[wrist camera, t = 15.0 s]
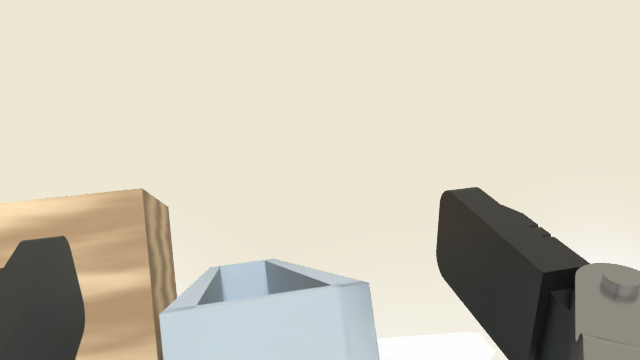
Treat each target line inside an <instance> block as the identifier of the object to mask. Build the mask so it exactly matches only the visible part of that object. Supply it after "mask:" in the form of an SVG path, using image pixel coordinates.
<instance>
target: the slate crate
mask: <svg viewBox="0 0 640 360" xmlns="http://www.w3.org/2000/svg"><path fill="white" fill-rule="evenodd" d="M159 318H160V329H161V339H162V350H163V360H380V359H379V352H378V345H377V338H376V331H375V324H374V316H373V309H372V302H371V295H370V287H369V283H367V282H363V281H359V280H355V279H351V278H347V277H344V276H339V275H335V274H332V273H328V272H324V271H320V270H315V269H312V268H308V267H304V266H300V265H296V264H292V263H288V262H284V261H280V260H276V259H269V260H262V261H254V262H248V263H240V264H232V265H225V266H218V267H210V268H209V269H208V270H207V271H206V272H205V273H204V274H203V275H202V276H200V277H199V279H197V280H196V281H195V282H194V283H193V284H192V285H191V286H190V287H189V288H187V289H186V290H185V291H184V292H183V293H182V294H181V295H180V296H179V297H178V298H177V299H176V300H174V301H173V302H172V303H171V304H170V305H169V306H168V307H167V308H166V309H165V310H164V311H163V312H161V313H160V314H159Z"/></svg>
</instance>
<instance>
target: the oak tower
mask: <svg viewBox="0 0 640 360" xmlns="http://www.w3.org/2000/svg"><path fill="white" fill-rule="evenodd" d="M56 236H65V237H66V239H67V240H68V242H69V245H70V249H71V253H72V257H73V261H74V265H75V269H76V273H77V277H78V281H79V285H80V289H81V293H82V297H83V302H84V308H85V328H84V333H83V336H82V340H81V343H80V346H79V349H78V352H77V356H76V359H75V360H163V350H162V339H161V329H160V318H159V314H160V313H161V312H163V311H164V310H165V309H166V308H167V307H168V306H169V305H170V304H171V303H172V302H173V301H174V300H176V299H177V293H176V283H175V273H174V262H173V252H172V242H171V232H170V222H169V212H168V207H167V206H166V205H165V204H163V203H162V202H160V201H159V200H158V199H156V198H154V197H153V196H152V195H150V194H149V193H148V192H146V191H145V190H143V189H132V190H123V191H113V192H104V193H94V194H85V195H75V196H66V197H56V198H46V199H37V200H28V201H18V202H10V203H0V268H4V266H5V264H6V263H7V261H8V260H9V258H10V257H11V255H12V254H13V252H14V251H15V249H16V247H17V246H18V244H19V243H20V242H21V241H23V240H31V239H40V238H48V237H56Z"/></svg>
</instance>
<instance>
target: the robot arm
mask: <svg viewBox="0 0 640 360" xmlns="http://www.w3.org/2000/svg"><path fill="white" fill-rule="evenodd" d="M436 256H437V262H438V267H439V270H440V273H441V275H442V277H443V278H444V280H445V281H446V282H447V283H448V285H449V286H450V287H451V288H452V290H453V291H454V292H455V293H456V295H457V296H458V297H459V298H460V300H461V301H462V302H463V303H464V305H465V306H466V307H467V308H468V310H469V311H470V312H471V313H472V315H473V316H474V317H475V318H476V320H477V321H478V322H479V323H480V325H481V326H482V327H483V328H484V330H485V331H486V332H487V333H488V334H489V336H490V337H491V338H492V340H493V341H494V342H495V343H496V344H497V346H498V347H499V348H500V350H501V351H502V352H503V353H504V354H505V356H506V357H507V358H508V359H509V360H640V271H638V270H635V269H633V268H629V267H626V266H621V265H617V264H609V263H594V264H590V263H588V262H587V261H586V260H584V259H583V258H582V257H580V256H579V255H578V254H576V253H575V252H574V251H572V250H571V249H569V248H568V247H567V246H565V245H564V244H563V243H562V242H560V241H559V240H558V239H556V238H555V237H551V234H550V233H548V232H547V231H546V230H544V229H543V228H541V227H538V224H536V223H535V222H533V221H532V220H531V219H529V218H528V217H527V216H525V215H524V214H523V213H520V212H518V211H515V210H513V209H510V208H508V207H506V206H503V205H500V204H499V203H498V202H497V201H495V200H494V199H493V198H491V197H490V196H489V195H487V194H486V193H485V192H484V191H482V190H481V189H479V188H477V187H474V188H465V189H457V190H448V191H445V192H444V193H443V194H442V196H441V199H440V209H439V223H438V236H437V250H436ZM84 328H85V308H84V302H83V297H82V293H81V289H80V285H79V281H78V277H77V273H76V269H75V265H74V261H73V257H72V253H71V249H70V245H69V242H68V240H67V239H66V237H65V236H56V237H48V238H40V239H31V240H23V241H21V242H20V243H19V244H18V246H17V247H16V249H15V251H14V252H13V254H12V255H11V257H10V258H9V260H8V261H7V263H6V264H5V266H4V268H0V360H75V359H76V356H77V352H78V349H79V346H80V343H81V340H82V336H83V333H84Z"/></svg>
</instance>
